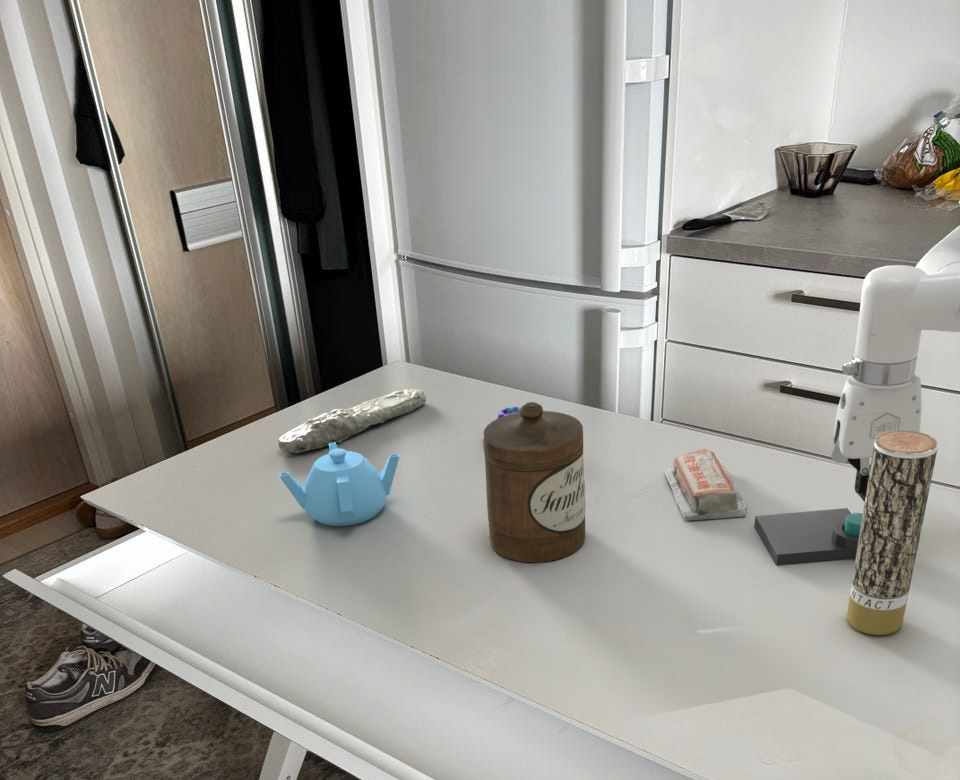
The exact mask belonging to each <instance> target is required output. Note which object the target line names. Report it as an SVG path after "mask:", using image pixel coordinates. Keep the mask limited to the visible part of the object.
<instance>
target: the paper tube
mask: <svg viewBox="0 0 960 780" xmlns="http://www.w3.org/2000/svg"><path fill="white" fill-rule="evenodd" d="M938 446H939V442H938V440H937V439H936V438H935V437H933V436H931V435H929V434H926V433H922V432H921V431H920V432H915V431H905V430H898V431H889V432H885V433H882V434H880V435H878V436H877V437H876V438H875V442H874V447H873V453H872V457H871V460H870V464H871V466H870V472H869V478H868V485H867V491H866V497H865V501H864V504H863V509H862V513H863V516H862V522H861V528H860V534H859V541H858V547H857V553H856V559H854V565H853V566H854V567H853V574H852V577H851V578H852V579H851V584H850V591H849V597H848V600H849V601H848V604H847V610H846V611H847V612H846V620H847V622H848V624H849V625H850V626H851V627H852V628H853V629H855V630H856V631H858V632H861V633H863V634H866V635H871V636H887V635H890V634H893V633H895V632H897V631H898V630H899V629H901V627H902V625H903V623H904V618H905V614H906V613H905V612H906V608H907V602H908V598H909V593H910V588H911V584H912V580H913V579H912V578H913V575H914V574H913V573H914V568H915V564H916V559H917V554H918V553H917V552H918V549H919V544H920V539H921V534H922V528H923V524H924V519H925V514H926V508H927V504H928V500H929V499H928V498H929V494H930V488H931V485H932V484H931V483H932V479H933V474H934V469H935V463H936V459H937V455H938V454H937V453H938V450H939V449H938Z"/></svg>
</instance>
